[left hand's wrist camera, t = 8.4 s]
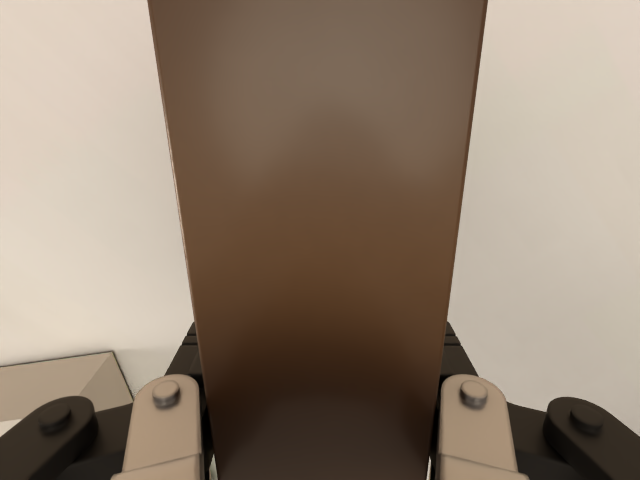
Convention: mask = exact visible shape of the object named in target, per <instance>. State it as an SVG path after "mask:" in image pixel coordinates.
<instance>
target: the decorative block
mask: <svg viewBox="0 0 640 480" xmlns="http://www.w3.org/2000/svg"><path fill="white" fill-rule="evenodd" d="M67 396H83V397H86V398H88V399H90V400H91V401H92V403H93V405H94V409H95V412H97V411H102V410H106V409H110V408H114V407H119V406H123V405H126V404H130V403H132V402H133V399H132V397H131V395H130V392H129V390H128V388H127V385H126V383H125V381H124V378H123V376H122V374H121V371H120V369H119V367H118V364H117V362H116V360H115V357H114V355H113V353H112V352H107V353H100V354H93V355H86V356H79V357H72V358H65V359H57V360H50V361H43V362H36V363H29V364H22V365H15V366H8V367H0V437H1V436H2V435H3V434H4V433H6V432H7V431H8V430H10V429H11V428H12V427H13V426H15V425H16V424H17V423H18V422H20V421H21V420H22V419H24V418H25V417H26V416H27V415H29V414H30V413H31V412H33V411H34V410H35V409H37V408H38V407H40V406H42V405H44V404H46V403H48V402H50V401H53V400H55V399H59V398H62V397H67Z"/></svg>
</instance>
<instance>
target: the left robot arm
mask: <svg viewBox="0 0 640 480" xmlns="http://www.w3.org/2000/svg"><path fill="white" fill-rule="evenodd" d="M213 454H214V450H213V443H212V436H211V429H210V423H209V416H208V409H207V402H206V395H205V389H204V382H203V375H202V368H201V361H200V355H199V348H198V341H197V334H196V327H195V321H194V322H193V323H192V325H191V327H190V329H189V331H188V333H187V336H185V338H184V340H183V342H182V345H181V346H180V348H179V349H178V351H177V353H176V355H175V357H174V359H173V361H172V362H171V364H170V366H169V368H168V370H167V372H166V373H165V375H164V376H163V377H160V378H157V379H155V380H153V381H151V382H149V383H148V384H146V385H145V386H144V387H143V388H142V389H141V390H140V391H139V392H138V393H137V395H136V396H135V399H134V402H132V403H130V404H126V405H123V406H119V407H114V408H110V409H106V410H102V411H97V412H95V409H94V405H93V403H92V401H91V400H90V399H88V398H86V397H83V396H67V397H62V398H59V399H55V400H53V401H50V402H48V403H46V404H44V405H42V406H40V407H38V408H37V409H35V410H34V411H33V412H31V413H30V414H29V415H27V416H26V417H25V418H24V419H22V420H21V421H20V422H18V423H17V424H16V425H15V426H13V427H12V428H11V429H10V430H8V431H7V432H6V433H4V434H3V435H2V436H1V437H0V480H211V473H210V465H211V461H212V458H213ZM430 459H431V466H430V473H429V480H640V437H639V436H638V435H637V434H636V433H634V432H633V431H632V430H630V429H629V428H628V427H627V426H625V425H624V424H623V423H622V422H620V421H619V420H618V419H616V418H615V417H614V416H613V415H611V414H610V413H609V412H607V411H606V410H604V409H603V408H601V407H599V406H597V405H595V404H593V403H591V402H588V401H586V400H582V399H578V398H573V397H560V398H556V399H554V400H552V401H551V402H550V403H549V405H548V408H547V412H543V411H539V410H534V409H530V408H526V407H522V406H518V405H514V404H512V403H509V402H507V401H506V399H505V396H504V395H503V393H502V392H501V391H500V390H499V389H498V388H497V387H496V386H495V385H494V384H492V383H491V382H489V381H487V380H485V379H483V378H480V377H479V376H478V374H477V373H476V371H475V369H474V367H473V365H472V363H471V362H470V360H469V358H468V356H467V354H466V352H465V351H464V349H463V347H462V346H461V343H460V341H459V340H458V338H457V336H456V335H455V332H454V330H453V329H452V327H451V325H450V323H449V322H447V323H446V331H445V339H444V346H443V354H442V362H441V370H440V378H439V385H438V393H437V401H436V409H435V417H434V424H433V432H432V440H431V448H430Z"/></svg>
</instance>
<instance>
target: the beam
mask: <svg viewBox="0 0 640 480" xmlns="http://www.w3.org/2000/svg"><path fill="white" fill-rule="evenodd" d="M147 1H148V8H149V15H150V22H151V28H152V35H153V42H154V49H155V56H156V62H157V69H158V76H159V83H160V90H161V96H162V103H163V110H164V117H165V124H166V130H167V137H168V144H169V151H170V158H171V164H172V171H173V178H174V185H175V192H176V198H177V205H178V212H179V219H180V226H181V232H182V239H183V246H184V253H185V260H186V266H187V273H188V280H189V287H190V294H191V300H192V307H193V314H194V321H195V327H196V334H197V341H198V348H199V355H200V361H201V368H202V375H203V382H204V389H205V395H206V402H207V409H208V416H209V423H210V429H211V436H212V443H213V450H214V457H215V463H216V470H217V477H218V480H426V479H427V471H428V463H429V456H430V448H431V440H432V432H433V424H434V417H435V409H436V401H437V393H438V385H439V378H440V370H441V362H442V354H443V346H444V339H445V331H446V323H447V315H448V308H449V300H450V292H451V284H452V276H453V269H454V261H455V253H456V245H457V237H458V230H459V222H460V214H461V206H462V199H463V191H464V183H465V175H466V167H467V160H468V152H469V144H470V136H471V128H472V121H473V113H474V105H475V97H476V89H477V82H478V74H479V66H480V58H481V51H482V43H483V35H484V27H485V19H486V12H487V4H488V0H147Z"/></svg>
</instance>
